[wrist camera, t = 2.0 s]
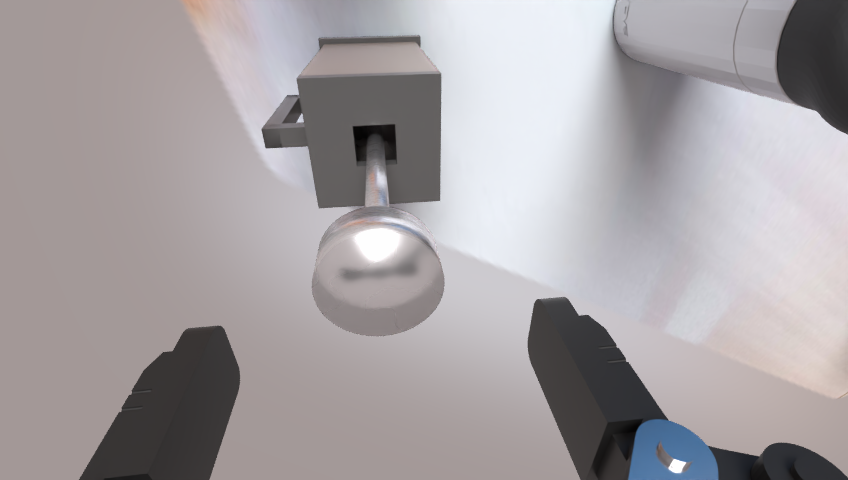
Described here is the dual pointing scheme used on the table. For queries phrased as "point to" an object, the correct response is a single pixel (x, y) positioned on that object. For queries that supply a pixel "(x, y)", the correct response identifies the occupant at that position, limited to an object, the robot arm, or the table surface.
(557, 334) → the robot arm
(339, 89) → the gray handled box
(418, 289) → the plunger
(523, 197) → the table surface
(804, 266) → the table surface
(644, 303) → the table surface
